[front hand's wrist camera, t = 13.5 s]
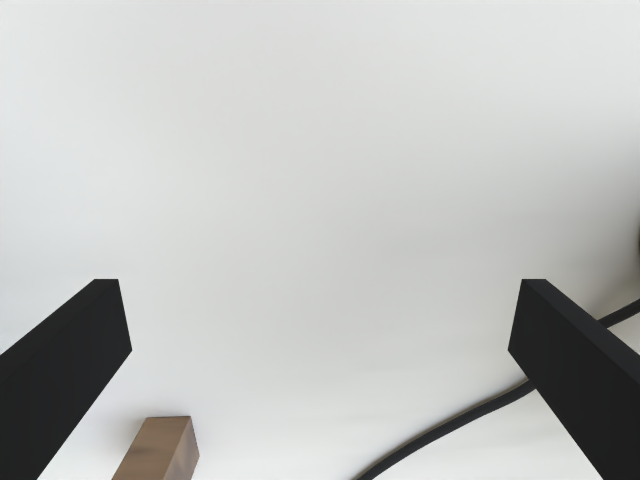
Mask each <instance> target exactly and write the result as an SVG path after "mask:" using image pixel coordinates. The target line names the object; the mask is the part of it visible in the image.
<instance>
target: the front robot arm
mask: <svg viewBox="0 0 640 480" xmlns="http://www.w3.org/2000/svg"><path fill="white" fill-rule="evenodd" d="M639 312H640V299H638V300H636V301H635V302H633V303H631V304H629V305H627V306H625V307H624V308H622V309H620V310H618V311H616V312H614V313H612V314H609V315H607V316H605V317H603V318H601V319H600V320H598V321H597V320H595V319H594V318H593V317H592V316H590V315H589V314H588V313H587V312H585V311H584V310H583V309H582V308H581V307H579V306H578V305H577V304H576V303H574V302H573V301H572V300H571V299H569V298H568V297H567V296H566V295H564V294H563V293H562V292H561V291H560V290H558V289H557V288H556V287H555V286H553V285H552V284H551V283H550V282H548V281H547V280H546V279H522V281H521V286H520V291H519V296H518V301H517V306H516V311H515V316H514V321H513V326H512V331H511V336H510V341H509V346H508V351H509V353H510V354H511V355H512V357H513V358H514V360H515V361H516V362H517V364H518V365H519V366H520V368H521V369H522V370H523V372H524V373H525V374H526V376H527V377H528V378H529V380H528V381H527V382H525V383H524V384H522V385H521V386H519V387H517V388H516V389H514V390H512V391H510V392H508V393H506V394H504V395H502V396H500V397H498V398H496V399H494V400H492V401H489V402H487V403H485V404H483V405H481V406H479V407H476V408H474V409H472V410H470V411H468V412H466V413H465V414H463V415H461V416H459V417H457V418H455V419H453V420H451V421H449V422H447V423H445V424H444V425H442V426H440V427H438V428H436V429H434V430H432V431H430V432H428V433H427V434H425V435H423V436H421V437H419V438H418V439H416V440H414V441H413V442H411V443H409V444H408V445H406V446H404V447H403V448H401V449H399V450H398V451H396V452H395V453H393V454H392V455H390V456H389V457H387V458H386V459H384V460H383V461H381V462H380V463H378V464H377V465H375V466H374V467H373V468H371V469H370V470H369V471H367V472H366V473H365V474H363V475H362V476H361V477H360V478H358V479H357V480H372V479H374V478H375V477H376V476H378V475H379V474H381V473H382V472H383V471H385V470H386V469H388V468H389V467H391V466H392V465H394V464H396V463H397V462H399V461H400V460H402V459H404V458H405V457H407V456H408V455H410V454H412V453H413V452H415V451H417V450H418V449H420V448H422V447H424V446H425V445H427V444H429V443H431V442H433V441H435V440H437V439H438V438H440V437H442V436H444V435H446V434H448V433H450V432H452V431H454V430H456V429H458V428H460V427H462V426H464V425H466V424H468V423H469V422H471V421H473V420H475V419H477V418H479V417H481V416H484V415H486V414H488V413H490V412H492V411H495V410H497V409H499V408H501V407H503V406H506V405H508V404H510V403H512V402H514V401H516V400H518V399H520V398H521V397H523V396H525V395H527V394H528V393H530V392H531V391H533V390H534V389H537V391H538V392H539V393H540V395H541V396H542V397H543V399H544V400H545V401H546V403H547V404H548V405H549V407H550V408H551V410H552V411H553V412H554V414H555V415H556V416H557V418H558V419H559V420H560V422H561V423H562V424H563V426H564V427H565V428H566V430H567V431H568V433H569V434H570V435H571V437H572V438H573V439H574V441H575V442H576V443H577V445H578V446H579V447H580V449H581V450H582V451H583V453H584V454H585V456H586V457H587V458H588V460H589V461H590V462H591V464H592V465H593V466H594V468H595V469H596V470H597V472H598V473H599V474H600V476H601V477H602V478H603V480H640V355H639V354H637V353H636V352H635V351H634V350H632V349H631V348H630V347H629V346H627V345H626V344H625V343H624V342H623V341H621V340H620V339H619V338H618V337H616V336H615V335H614V334H613V333H611V332H610V331H609V330H608V329H607V328H608V327H610V326H613V325H615V324H617V323H619V322H621V321H623V320H625V319H627V318H629V317H631V316H633V315H635V314H637V313H639ZM131 351H132V346H131V341H130V336H129V331H128V326H127V321H126V316H125V311H124V306H123V301H122V296H121V291H120V286H119V281H118V279H94V280H93V281H92V282H90V283H89V284H88V285H87V286H85V287H84V288H83V289H82V290H80V291H79V292H78V293H77V294H76V295H74V296H73V297H72V298H71V299H69V300H68V301H67V302H66V303H64V304H63V305H62V306H61V307H59V308H58V309H57V310H56V311H55V312H53V313H52V314H51V315H50V316H48V317H47V318H46V319H45V320H43V321H42V322H41V323H40V324H38V325H37V326H36V327H35V328H34V329H32V330H31V331H30V332H29V333H27V334H26V335H25V336H24V337H22V338H21V339H20V340H19V341H17V342H16V343H15V344H14V345H13V346H11V347H10V348H9V349H8V350H6V351H5V352H4V353H3V354H1V355H0V480H37V478H38V477H39V476H40V474H41V473H42V472H43V470H44V469H45V468H46V466H47V465H48V464H49V462H50V461H51V460H52V458H53V457H54V456H55V454H56V453H57V451H58V450H59V449H60V447H61V446H62V445H63V443H64V442H65V441H66V439H67V438H68V437H69V435H70V434H71V433H72V431H73V430H74V428H75V427H76V426H77V424H78V423H79V422H80V420H81V419H82V418H83V416H84V415H85V414H86V412H87V411H88V410H89V408H90V407H91V405H92V404H93V403H94V401H95V400H96V399H97V397H98V396H99V395H100V393H101V392H102V391H103V389H104V388H105V387H106V385H107V384H108V383H109V381H110V380H111V378H112V377H113V376H114V374H115V373H116V372H117V370H118V369H119V368H120V366H121V365H122V364H123V362H124V361H125V360H126V358H127V357H128V355H129V354H130V353H131Z"/></svg>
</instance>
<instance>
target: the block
mask: <svg viewBox="0 0 640 480" xmlns="http://www.w3.org/2000/svg"><path fill="white" fill-rule="evenodd" d="M198 459H199V452H198V448H197V443H196V439H195V434H194V430H193V426H192V421H191V417H190V416H187V417H160V418H146V420H145V422H144V424H143V425H142V427H141V429H140V431H139V432H138V434H137V436H136V438H135V439H134V441H133V443H132V445H131V446H130V448H129V450H128V452H127V453H126V455H125V457H124V458H123V460H122V462H121V464H120V465H119V467H118V469H117V471H116V472H115V474H114V476H113V478H112V479H111V480H191V478H192V475H193V472H194V470H195V467H196V464H197V461H198Z"/></svg>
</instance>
